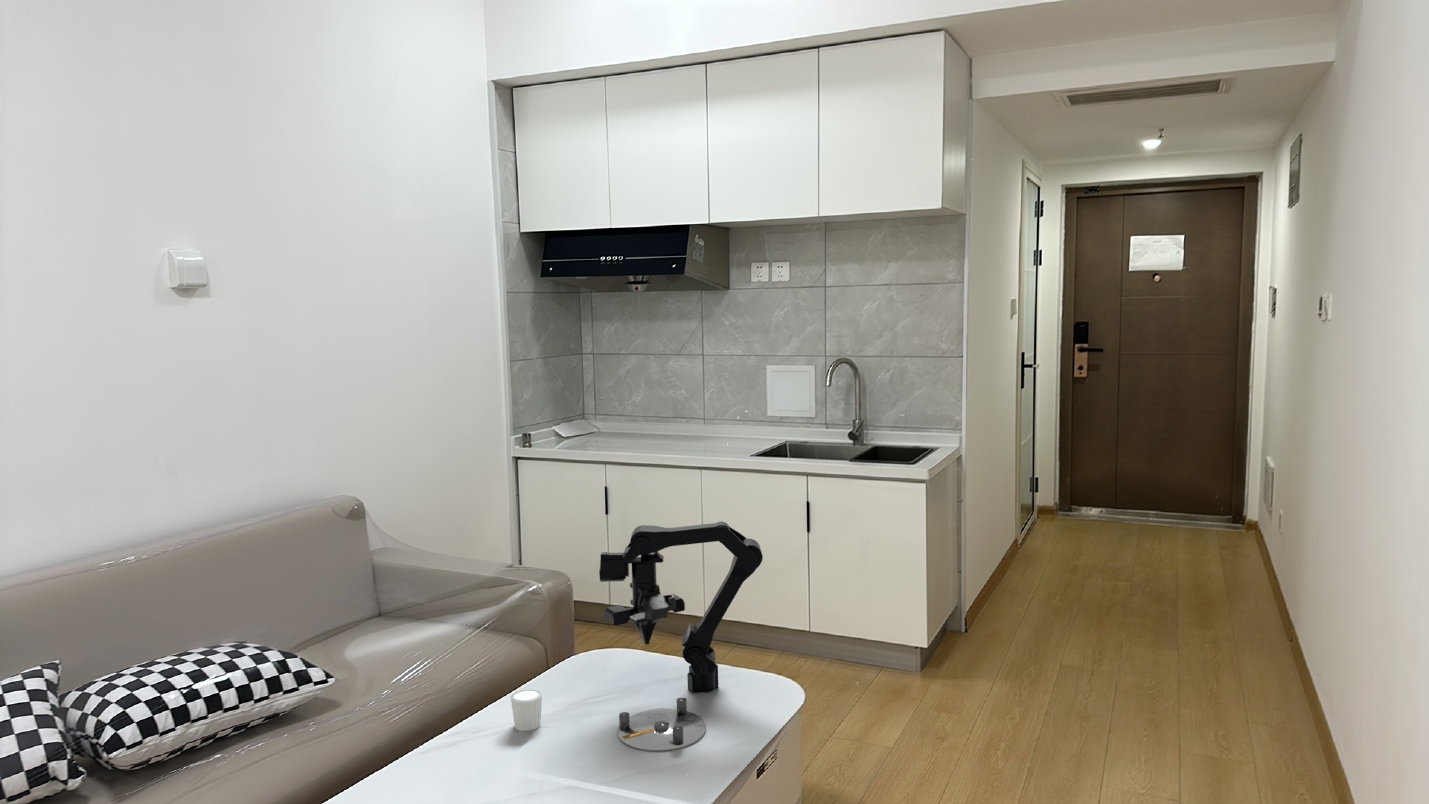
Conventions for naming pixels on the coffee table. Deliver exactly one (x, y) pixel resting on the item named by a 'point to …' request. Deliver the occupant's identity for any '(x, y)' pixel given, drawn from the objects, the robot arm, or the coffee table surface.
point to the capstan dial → (661, 728)
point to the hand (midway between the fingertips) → (646, 644)
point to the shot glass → (526, 709)
